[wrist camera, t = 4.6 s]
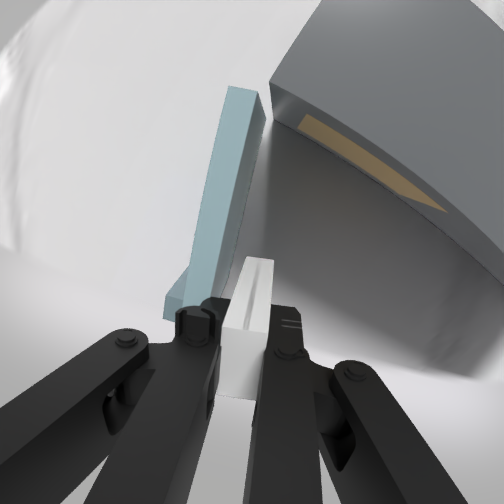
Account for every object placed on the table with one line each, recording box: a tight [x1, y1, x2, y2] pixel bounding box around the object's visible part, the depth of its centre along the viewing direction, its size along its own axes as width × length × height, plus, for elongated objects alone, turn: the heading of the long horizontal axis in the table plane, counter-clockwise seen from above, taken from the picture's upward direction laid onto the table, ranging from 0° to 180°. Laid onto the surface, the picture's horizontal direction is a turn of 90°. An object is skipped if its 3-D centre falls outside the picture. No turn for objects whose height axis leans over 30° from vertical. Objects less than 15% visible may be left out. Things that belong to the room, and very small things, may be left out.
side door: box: [163, 86, 266, 322], centre depth 15 cm, size 10×2×8 cm, turn 166°
